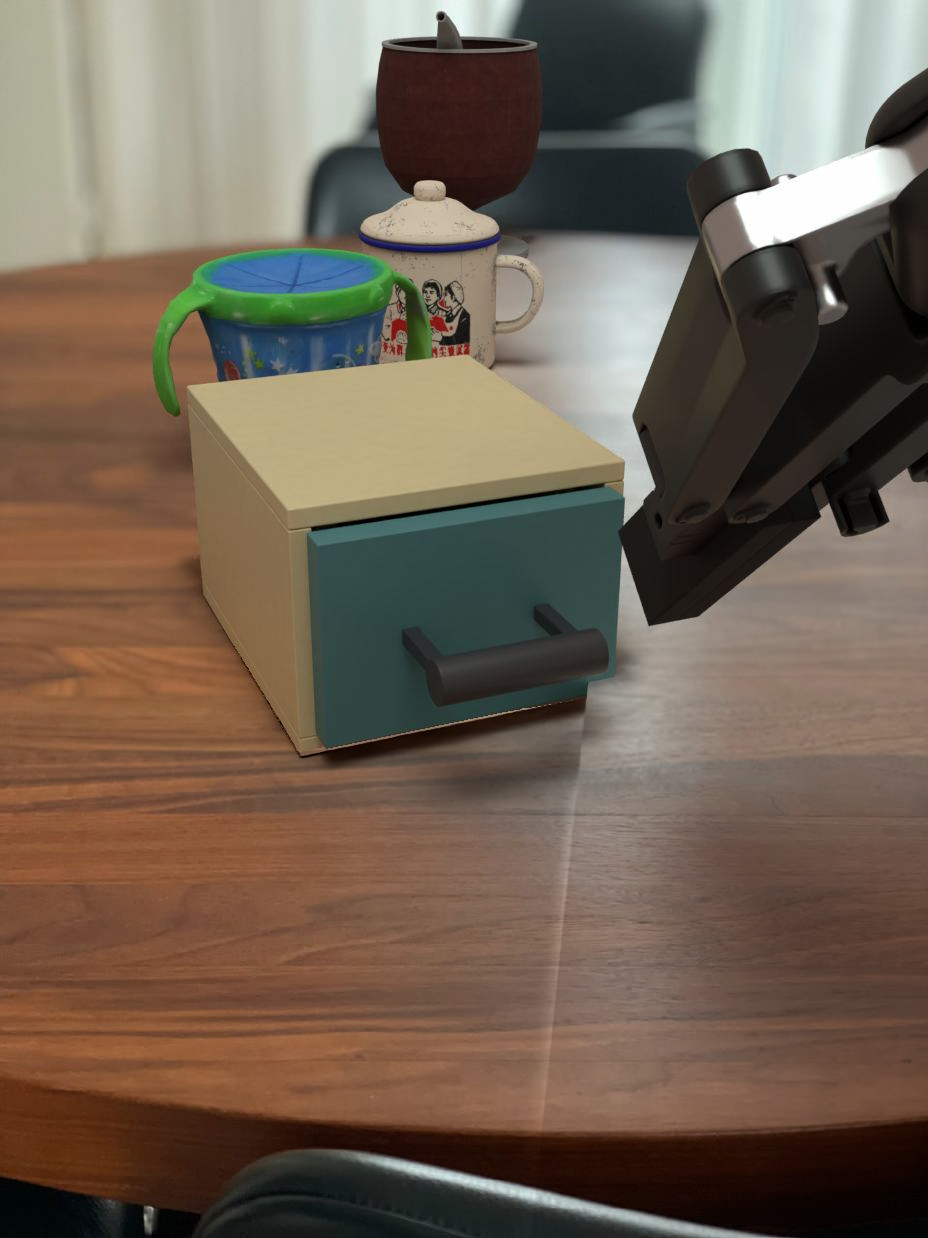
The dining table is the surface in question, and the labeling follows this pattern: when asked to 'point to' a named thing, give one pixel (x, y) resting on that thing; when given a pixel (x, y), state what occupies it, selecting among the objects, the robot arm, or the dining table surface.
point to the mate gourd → (460, 115)
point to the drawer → (462, 611)
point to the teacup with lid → (445, 273)
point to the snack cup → (290, 315)
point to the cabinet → (352, 485)
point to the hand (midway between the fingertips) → (658, 573)
